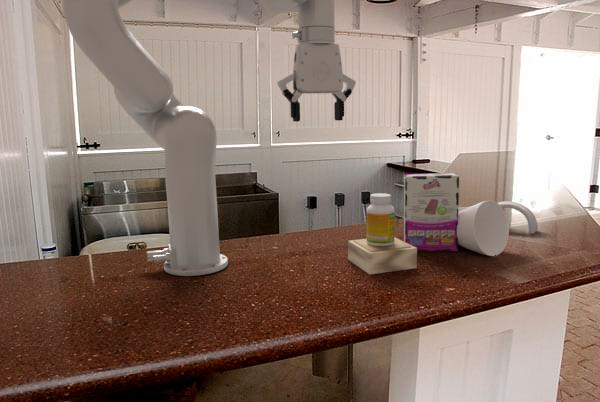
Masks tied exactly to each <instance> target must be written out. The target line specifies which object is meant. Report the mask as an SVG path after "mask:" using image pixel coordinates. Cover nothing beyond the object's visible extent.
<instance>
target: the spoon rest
mask: <svg viewBox="0 0 600 402" xmlns="http://www.w3.org/2000/svg"><path fill="white" fill-rule="evenodd" d="M497 203H498V204H499V205H500V206H501V207H502V208H503V209H507V208H508V209H509V208H510V209H512V210H515V211H518V212H520V213H521V214H522V215H523V216H524V218H525V219H526V221H527V225H528V233H529V234H530V235H534V234H535V233H536V232H537V231H538V230H539V229H538V227H539V226H538V221H537V217H536V216H535V214H534V213H533V211H532V210H530V209H529V208H528V207H527V206H525V205H523V204H521V203H518V202H516V201H510V200H507V201H499V202H497ZM469 207H470V206H461V207H458V213H459V212H461V211H463V210H465V209H467V208H469Z"/></svg>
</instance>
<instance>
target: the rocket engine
mask: <svg viewBox="0 0 600 402" xmlns="http://www.w3.org/2000/svg"><path fill="white" fill-rule="evenodd" d="M498 203H499V202H497V201H494V200H484V201H481V202H479V203H476V204H474V205H472V206H468V207H469V208H467V209H465V210H463V211H461V212H459V213H458V225H457V237H458V246H459V247H463V248H464V249H467V250H470V251H472V252H475V253H478V254H481V255H485V256H488V257H496V256H498V255H500V254H501V253H502V252H503V251H504V250H505V248H506V246H507V244H508V241H509V233H510V227H509V226H510V225H509V221H508V216H507V214H506V211H505V210H504V208H502V207H501V206H500V205H499V204H498ZM495 255H496V256H495Z"/></svg>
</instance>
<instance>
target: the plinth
mask: <svg viewBox="0 0 600 402" xmlns="http://www.w3.org/2000/svg"><path fill="white" fill-rule="evenodd" d="M347 255H348V256H347V258H348V259H347V260H348V261H350V263H352V264H354V265H355V266H356V267H358V268H359V269H361V270H363V272H365V273H367V274H368V275H375V274H383V273H389V272H390V273H391V272H398V271H404V270H411V269H417V268H418V266H417V265H418V263H417V262H418V261H417V260H418V251H417V248H416V247H414V246H412V245H410V244H408V243H406V242H404V240H402V239H399V238H397V237H396V236H394V244H393V245H390V246H372V245H370V244H368V243H367V238H360V239H353V240H348V241H347Z"/></svg>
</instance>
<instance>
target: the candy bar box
mask: <svg viewBox="0 0 600 402" xmlns="http://www.w3.org/2000/svg"><path fill="white" fill-rule="evenodd" d="M459 191H460V175H459V174H457V173H456V172H453V173H451V172H450V173H449V172H447V173H446V172H444V173H441V172H440V173H439V172H438V173H436V172H435V173H406V174H405V173H404V175H403V242H406V243H408V244H410V245H412V246H414V247H416V248H417V252H458V250H459V249H458V247H459V245H458V237H457V225H458V207H459V202H460V200H459V199H460V197H459V193H460V192H459Z"/></svg>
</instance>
